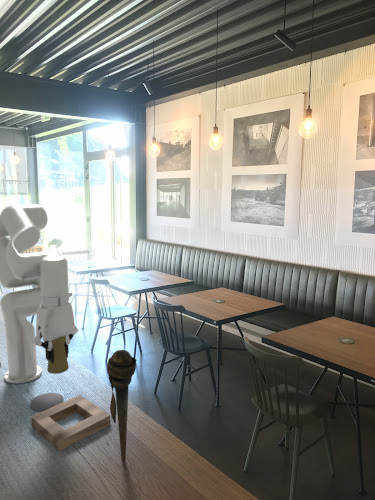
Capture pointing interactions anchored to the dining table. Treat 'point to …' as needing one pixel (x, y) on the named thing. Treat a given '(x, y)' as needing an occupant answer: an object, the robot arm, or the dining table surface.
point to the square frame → (75, 433)
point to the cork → (58, 357)
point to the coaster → (46, 401)
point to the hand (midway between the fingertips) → (57, 358)
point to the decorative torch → (120, 391)
